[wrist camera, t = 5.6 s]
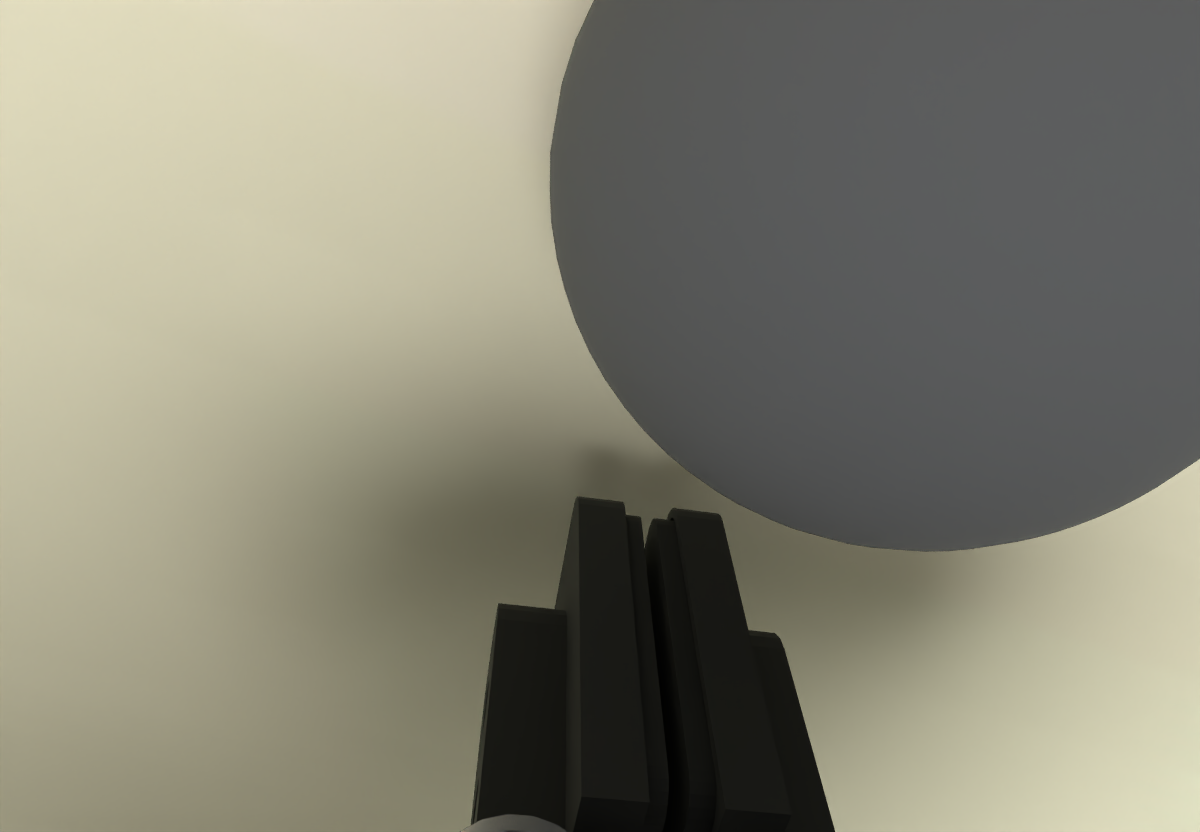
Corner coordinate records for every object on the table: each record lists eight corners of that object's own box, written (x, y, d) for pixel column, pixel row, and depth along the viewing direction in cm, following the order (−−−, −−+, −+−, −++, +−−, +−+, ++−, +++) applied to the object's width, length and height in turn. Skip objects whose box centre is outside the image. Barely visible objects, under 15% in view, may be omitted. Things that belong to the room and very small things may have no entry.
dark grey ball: (2058, -288, 3) (1126, -546, 6) (397, 383, 4) (402, -140, 7) (1457, 542, 7) (1106, 112, 10) (747, 733, 8) (646, 296, 12)
